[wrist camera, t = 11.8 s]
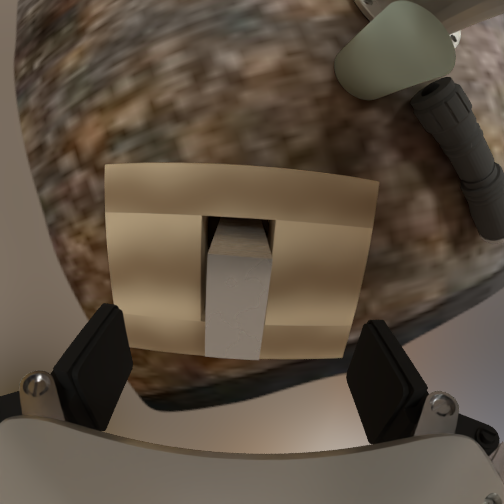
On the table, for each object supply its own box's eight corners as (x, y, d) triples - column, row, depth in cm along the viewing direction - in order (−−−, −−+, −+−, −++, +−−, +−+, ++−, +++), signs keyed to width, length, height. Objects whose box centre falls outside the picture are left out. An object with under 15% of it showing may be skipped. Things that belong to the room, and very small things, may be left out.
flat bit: (221, 215, 22) (207, 253, 13) (260, 219, 22) (272, 259, 13) (216, 287, 23) (204, 356, 15) (253, 290, 24) (259, 360, 15)
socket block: (127, 162, 20) (104, 164, 16) (357, 177, 21) (379, 181, 17) (135, 320, 24) (121, 345, 20) (329, 331, 25) (342, 357, 21)
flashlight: (394, 107, 19) (430, 97, 14) (426, 77, 18) (462, 66, 13) (470, 234, 23) (504, 251, 18) (494, 202, 22) (528, 213, 17)
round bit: (334, 40, 17) (380, -11, 9) (388, 55, 17) (450, 21, 9) (333, 93, 19) (386, 59, 10) (389, 106, 19) (458, 88, 10)
